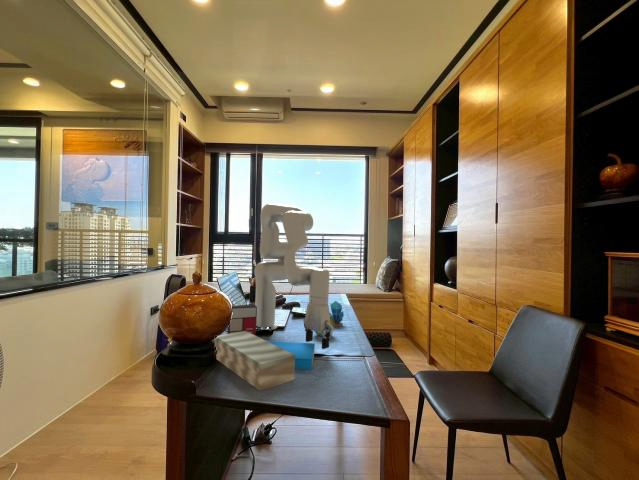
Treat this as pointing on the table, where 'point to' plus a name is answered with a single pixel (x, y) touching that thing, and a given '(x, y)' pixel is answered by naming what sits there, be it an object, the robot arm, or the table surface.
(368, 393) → the table surface
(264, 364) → the striped cream block
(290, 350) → the book
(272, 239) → the robot arm
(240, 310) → the gray red box
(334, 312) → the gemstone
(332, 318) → the decorative artifact
